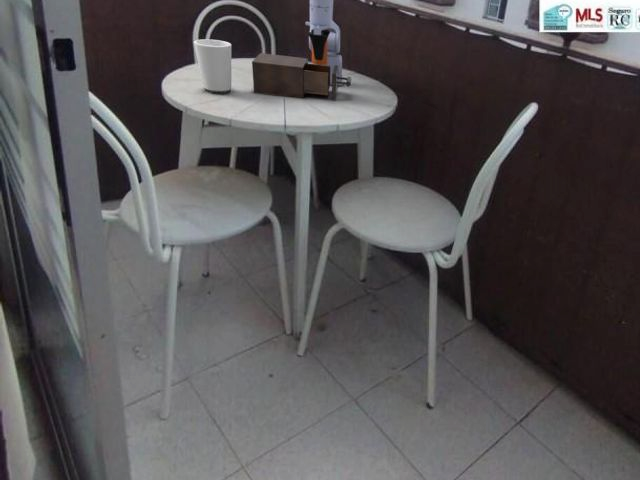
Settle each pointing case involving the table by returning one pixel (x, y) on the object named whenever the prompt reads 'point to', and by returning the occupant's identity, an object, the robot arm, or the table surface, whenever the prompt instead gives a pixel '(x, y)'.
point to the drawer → (321, 79)
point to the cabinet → (278, 75)
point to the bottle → (324, 60)
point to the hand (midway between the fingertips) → (319, 58)
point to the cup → (214, 64)
